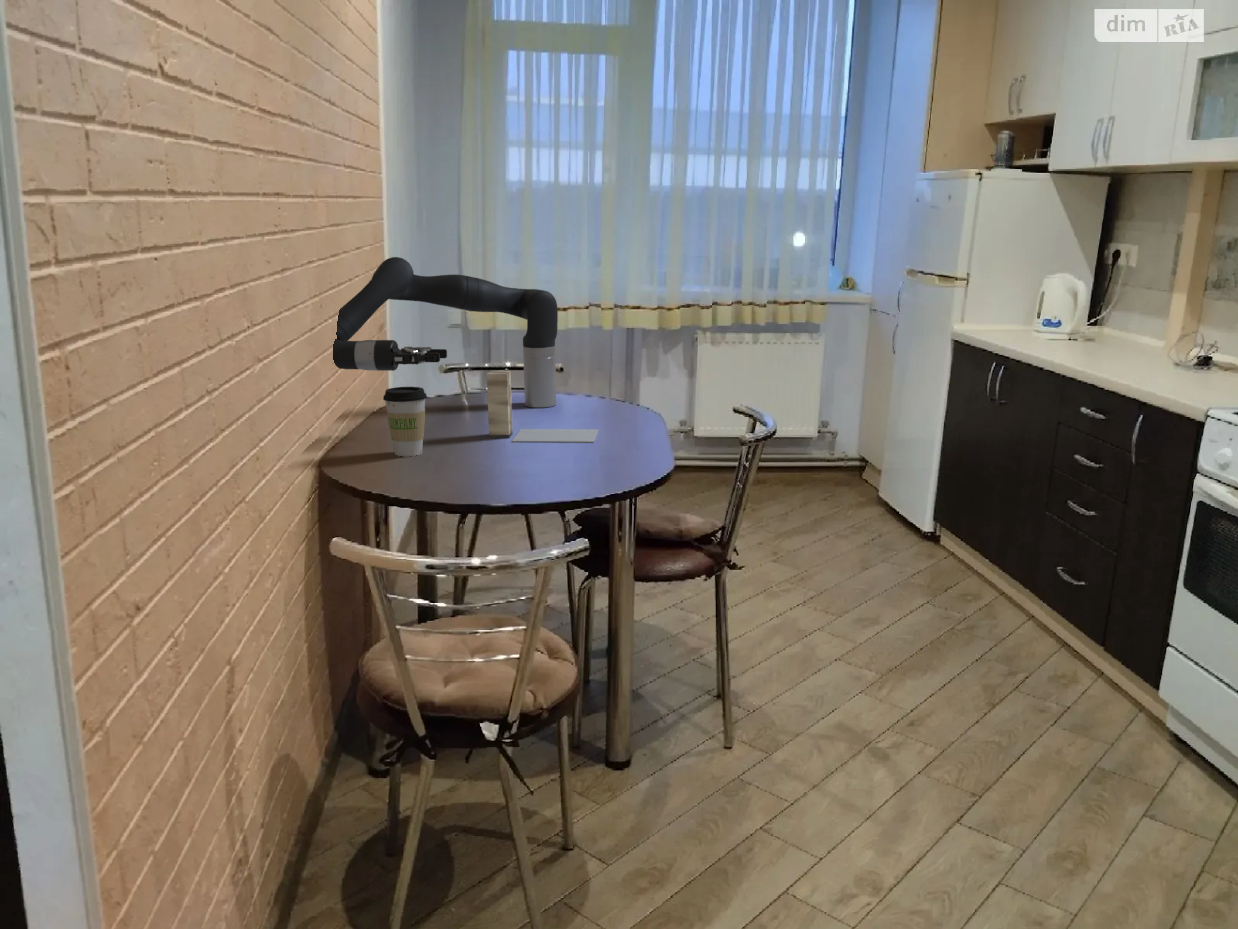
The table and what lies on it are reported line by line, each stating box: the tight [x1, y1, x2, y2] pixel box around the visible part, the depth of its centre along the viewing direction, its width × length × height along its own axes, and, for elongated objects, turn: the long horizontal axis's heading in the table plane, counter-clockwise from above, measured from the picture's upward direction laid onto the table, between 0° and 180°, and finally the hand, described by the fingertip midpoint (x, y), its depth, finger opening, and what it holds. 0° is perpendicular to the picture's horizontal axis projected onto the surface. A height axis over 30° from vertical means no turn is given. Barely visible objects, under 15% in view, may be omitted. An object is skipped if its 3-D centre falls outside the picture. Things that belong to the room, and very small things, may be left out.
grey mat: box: [511, 428, 600, 444], centre depth 243 cm, size 14×20×1 cm
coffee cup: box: [382, 386, 428, 458], centre depth 224 cm, size 10×10×15 cm
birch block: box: [486, 370, 513, 439], centre depth 242 cm, size 5×5×16 cm
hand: (443, 355), depth 240 cm, fingers open, 6 cm apart
